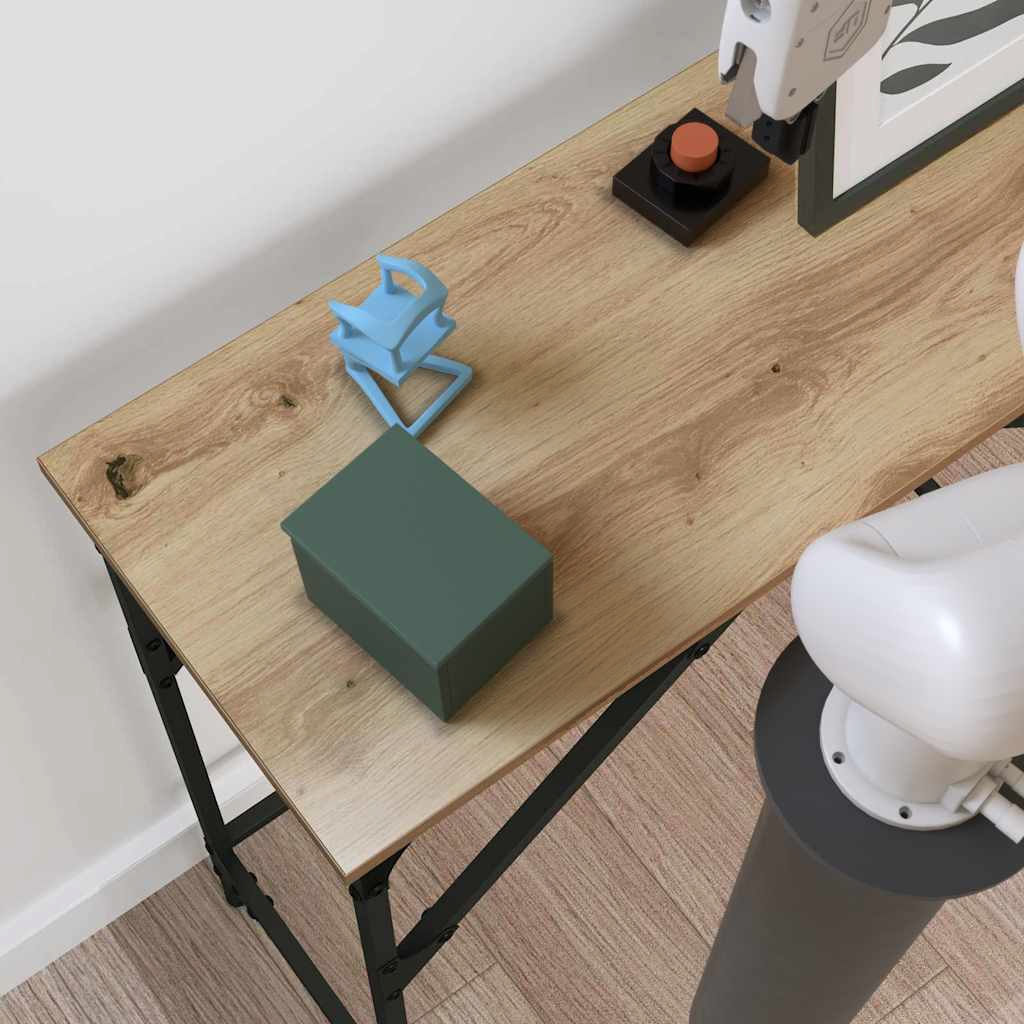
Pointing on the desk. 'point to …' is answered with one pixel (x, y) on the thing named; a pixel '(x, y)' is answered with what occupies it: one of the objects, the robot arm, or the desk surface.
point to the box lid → (417, 544)
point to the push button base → (689, 182)
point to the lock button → (694, 147)
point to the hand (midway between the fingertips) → (779, 145)
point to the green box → (428, 684)
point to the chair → (398, 338)
